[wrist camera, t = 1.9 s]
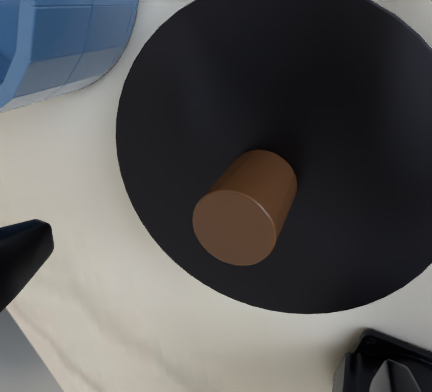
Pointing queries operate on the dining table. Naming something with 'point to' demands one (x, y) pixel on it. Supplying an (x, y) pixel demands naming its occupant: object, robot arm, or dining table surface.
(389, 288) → the lid
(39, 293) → the dining table surface
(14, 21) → the pot
